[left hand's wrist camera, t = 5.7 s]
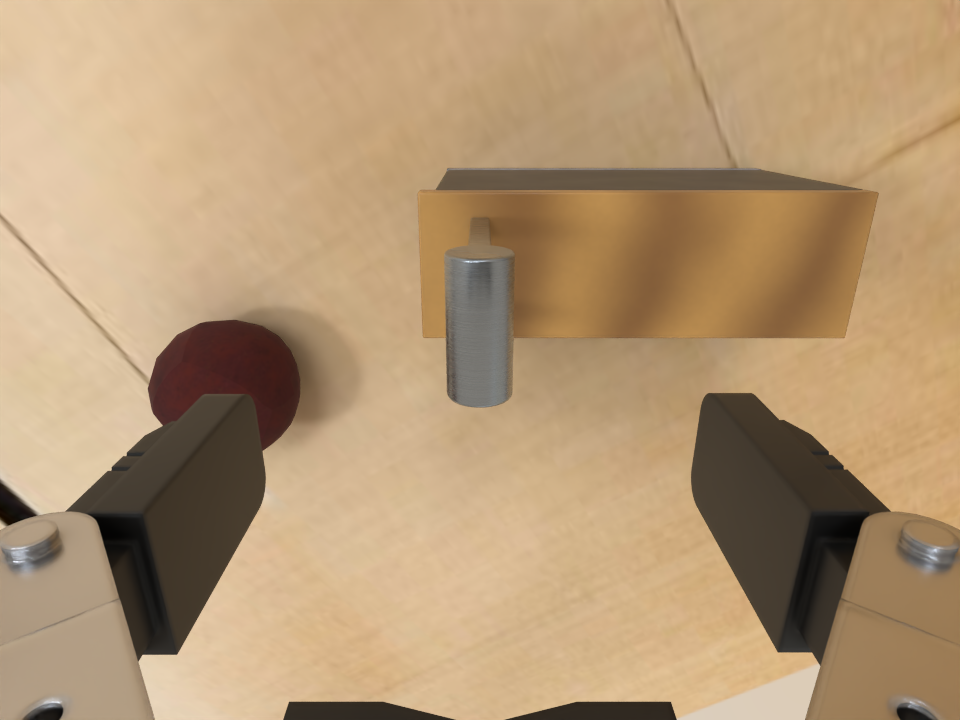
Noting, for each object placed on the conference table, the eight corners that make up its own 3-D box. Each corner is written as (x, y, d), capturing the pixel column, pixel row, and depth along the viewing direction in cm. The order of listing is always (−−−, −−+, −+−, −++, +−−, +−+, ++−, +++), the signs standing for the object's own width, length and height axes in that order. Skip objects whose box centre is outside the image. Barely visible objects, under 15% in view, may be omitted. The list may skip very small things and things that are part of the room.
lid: (424, 331, 25) (398, 432, 17) (419, 189, 23) (386, 229, 15) (833, 332, 25) (999, 433, 17) (866, 189, 23) (1072, 229, 15)
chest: (449, 273, 35) (438, 331, 25) (447, 168, 33) (434, 189, 23) (738, 273, 35) (833, 331, 25) (755, 168, 33) (865, 189, 23)
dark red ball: (283, 438, 38) (243, 505, 32) (166, 379, 37) (99, 436, 30) (336, 345, 36) (304, 396, 30) (213, 278, 35) (152, 316, 28)
